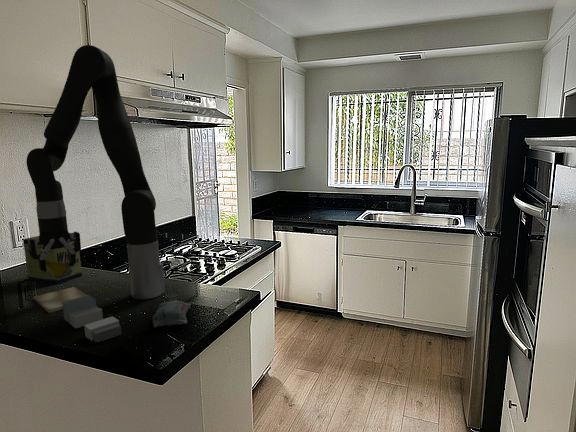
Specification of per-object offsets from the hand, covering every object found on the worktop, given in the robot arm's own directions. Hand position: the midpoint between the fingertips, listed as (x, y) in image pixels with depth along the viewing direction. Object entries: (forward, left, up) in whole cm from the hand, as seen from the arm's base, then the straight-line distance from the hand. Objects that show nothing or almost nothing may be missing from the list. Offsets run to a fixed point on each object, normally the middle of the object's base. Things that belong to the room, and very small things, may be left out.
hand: (58, 268), depth 126 cm
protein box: (-6, -28, -11) cm, 31 cm away
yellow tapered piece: (-1, 0, -4) cm, 4 cm away
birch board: (0, 0, -10) cm, 10 cm away
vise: (+1, +28, -10) cm, 29 cm away
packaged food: (-15, +41, -11) cm, 45 cm away
